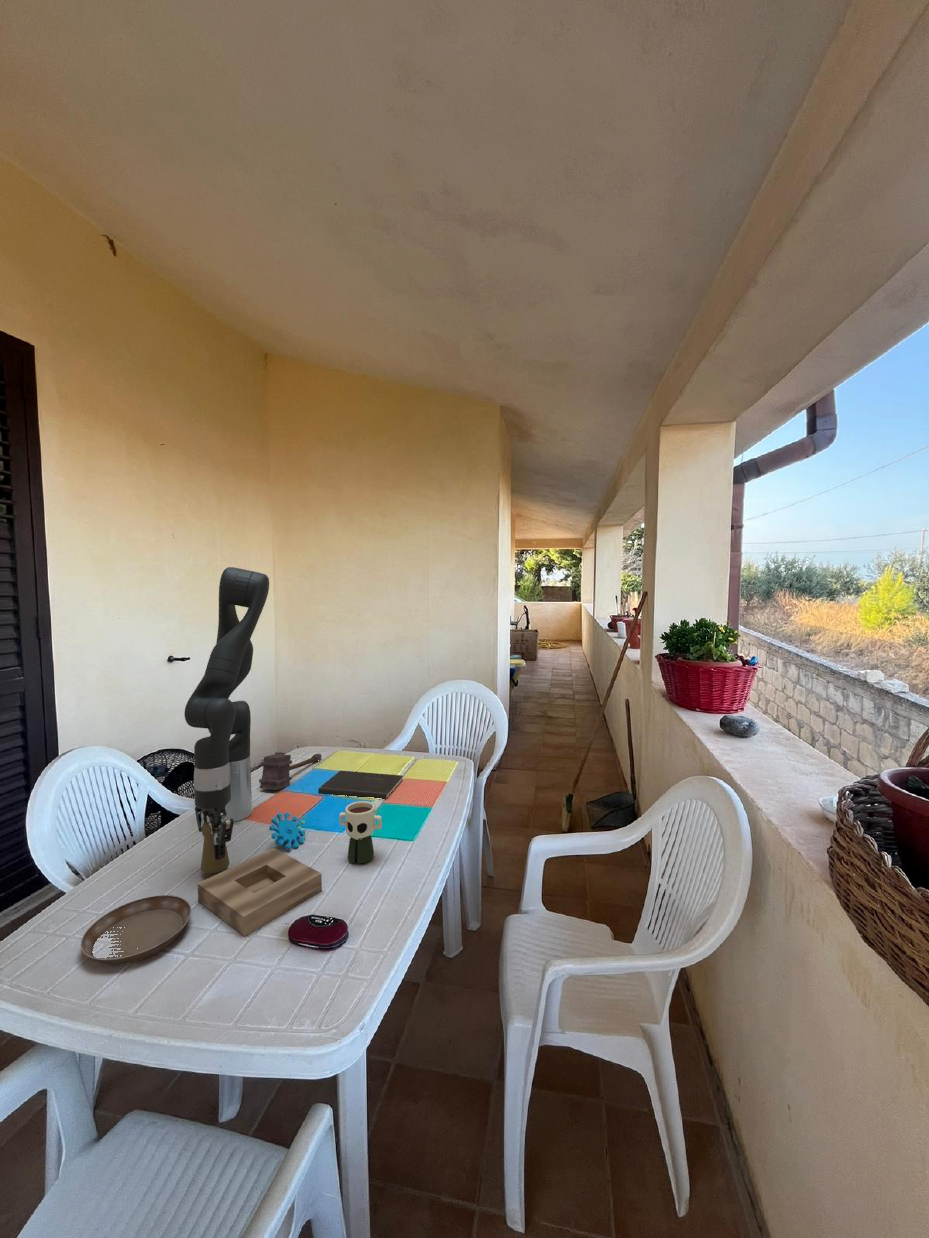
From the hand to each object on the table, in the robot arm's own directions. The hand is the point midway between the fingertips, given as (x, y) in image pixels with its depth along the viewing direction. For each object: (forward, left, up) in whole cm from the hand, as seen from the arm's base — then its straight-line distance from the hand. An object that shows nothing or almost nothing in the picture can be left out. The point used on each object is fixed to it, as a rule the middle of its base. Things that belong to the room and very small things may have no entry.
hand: (215, 854), depth 118 cm
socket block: (+17, +1, -4) cm, 17 cm away
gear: (+2, +18, -5) cm, 19 cm away
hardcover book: (-10, +54, -5) cm, 56 cm away
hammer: (-37, +48, -5) cm, 61 cm away
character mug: (+23, +24, -5) cm, 33 cm away
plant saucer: (+10, -20, -5) cm, 23 cm away
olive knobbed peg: (0, 0, -3) cm, 3 cm away
